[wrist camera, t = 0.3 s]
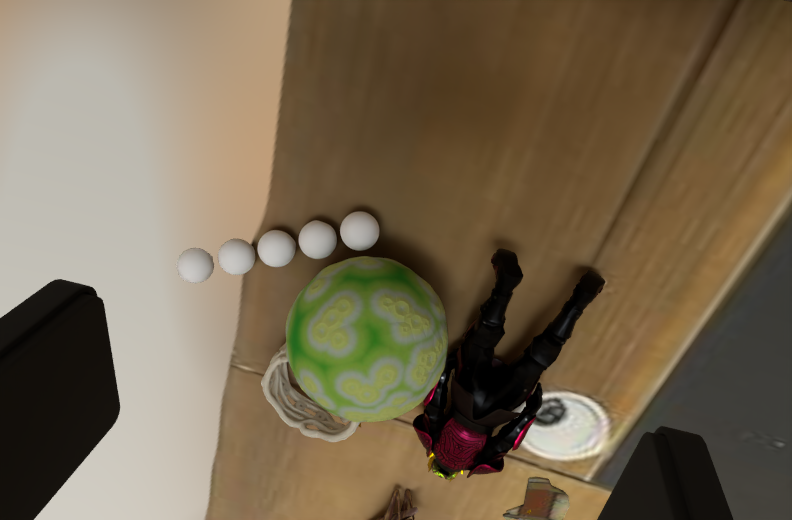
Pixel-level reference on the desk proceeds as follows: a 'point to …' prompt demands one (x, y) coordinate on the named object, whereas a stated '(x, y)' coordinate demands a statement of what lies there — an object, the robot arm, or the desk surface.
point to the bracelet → (300, 404)
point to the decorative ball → (367, 339)
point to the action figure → (493, 381)
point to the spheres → (280, 247)
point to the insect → (400, 517)
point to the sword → (541, 502)
